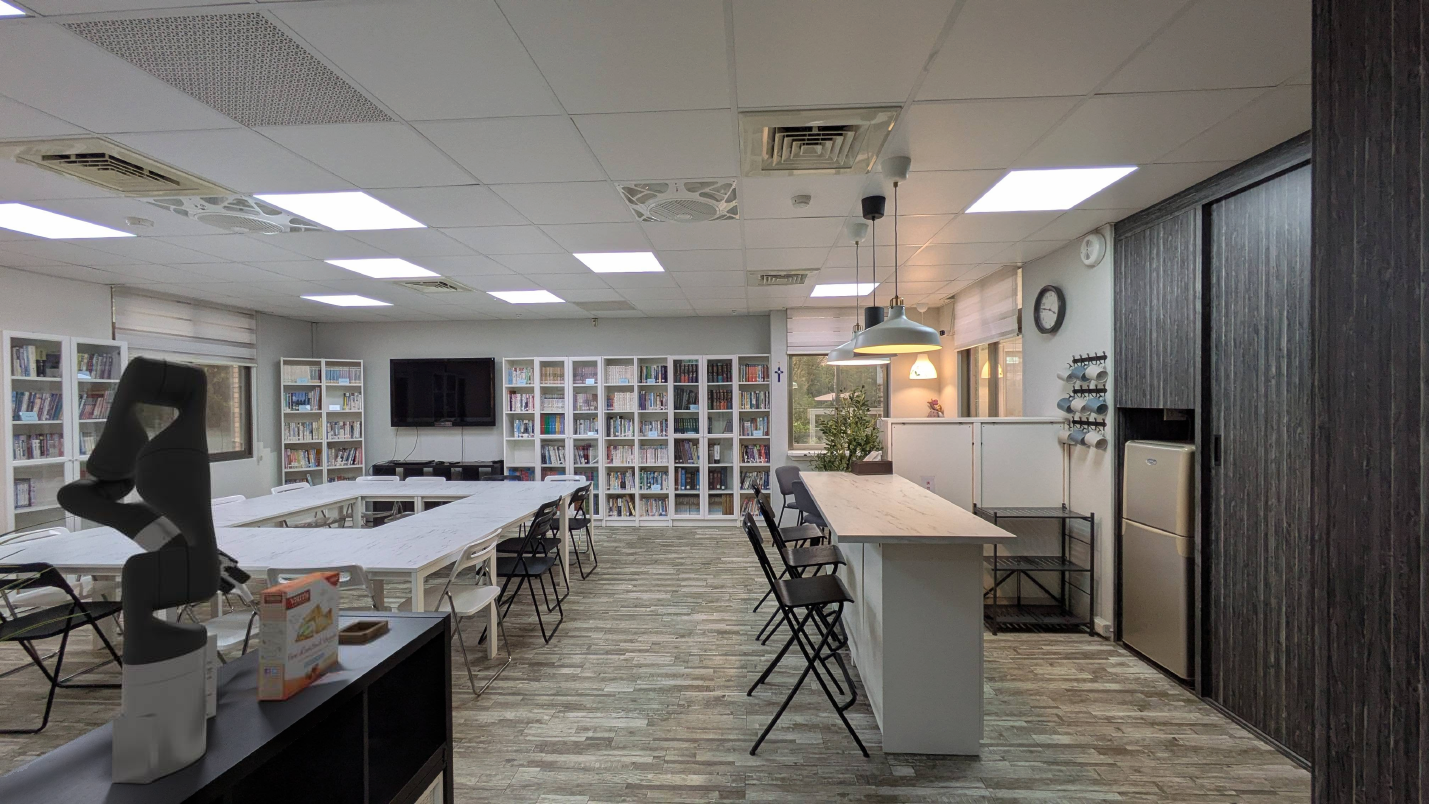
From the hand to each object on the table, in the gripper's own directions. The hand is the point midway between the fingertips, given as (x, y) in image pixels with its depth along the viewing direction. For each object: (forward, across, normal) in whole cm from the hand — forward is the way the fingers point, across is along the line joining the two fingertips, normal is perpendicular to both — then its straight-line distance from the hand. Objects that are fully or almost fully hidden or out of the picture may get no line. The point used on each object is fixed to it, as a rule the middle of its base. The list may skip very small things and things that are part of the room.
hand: (239, 585), depth 116 cm
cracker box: (+24, -17, +2) cm, 29 cm away
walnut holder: (+28, +2, -3) cm, 29 cm away
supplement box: (+12, -25, +14) cm, 31 cm away
